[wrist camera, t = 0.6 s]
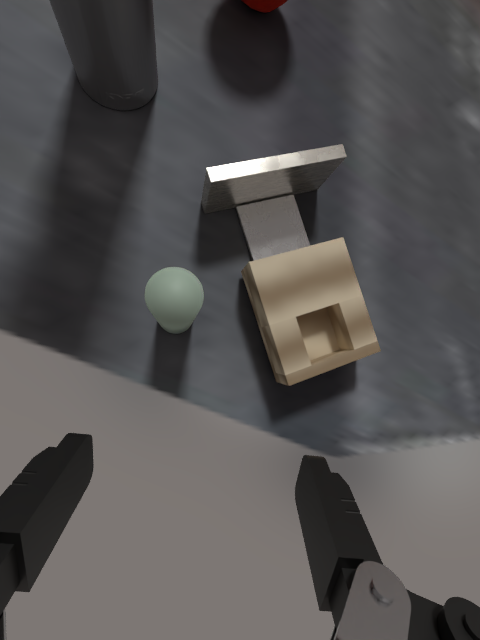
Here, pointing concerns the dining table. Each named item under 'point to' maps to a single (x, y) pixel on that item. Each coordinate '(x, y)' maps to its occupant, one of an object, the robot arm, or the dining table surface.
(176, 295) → the dowel
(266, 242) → the rail base
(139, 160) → the dining table surface
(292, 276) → the socket block
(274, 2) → the apple
